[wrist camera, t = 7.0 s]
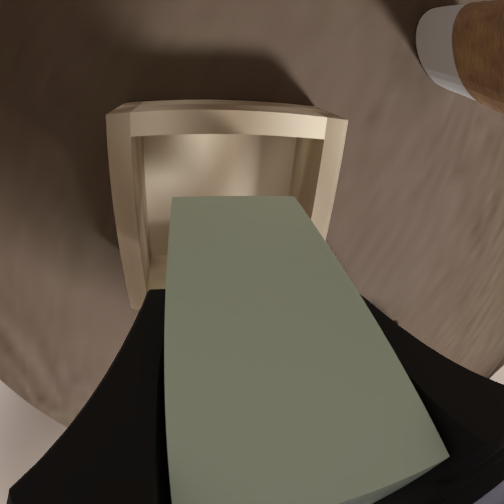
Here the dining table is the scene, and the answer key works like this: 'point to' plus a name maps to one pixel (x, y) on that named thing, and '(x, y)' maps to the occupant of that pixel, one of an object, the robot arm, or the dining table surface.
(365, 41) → the dining table surface
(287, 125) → the open beige box
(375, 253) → the dining table surface
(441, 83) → the coffee cup
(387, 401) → the sage block
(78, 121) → the dining table surface
